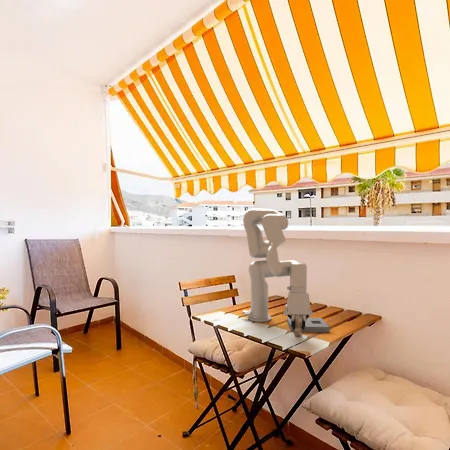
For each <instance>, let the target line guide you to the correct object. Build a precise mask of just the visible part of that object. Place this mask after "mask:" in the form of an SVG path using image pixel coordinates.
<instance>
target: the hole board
mask: <svg viewBox="0 0 450 450" xmlns="http://www.w3.org/2000/svg"><path fill="white" fill-rule="evenodd" d="M286 323H287V325H288V327H289V329H290V331H291V332H292V333H295V330H293V328H292V327H291V319H290V318H289V317H287V318H286ZM302 333H330V326H329V325H328V323H327V322H326V321H325V320H324V319H323V318H322V317H309V318H308V319H307V320H306V321H305V327H304V330H303V329H302Z"/></svg>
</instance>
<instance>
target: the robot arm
mask: <svg viewBox="0 0 450 450" xmlns="http://www.w3.org/2000/svg"><path fill="white" fill-rule="evenodd" d="M242 220H243V221H242V222H243V227H244V230H245V233H246V239H247V240H246V241H247V247H248V252H249V256H250V257H251V258H253V259H263V260H255V261H252V262H251V263H250V264H249V266H248V275H249V280H250V309H249V310H242V315H244V316H247V319H248V320H250V321H251V322H255V323H265V322H269V321H271V320H272V316H271V315H270V314H269V286H268V282H267V281H266V279H267V278H275V277H277V278H279V277H280V278H282V277H289V286H287V287H286V290H287V291H288V292H289V293H288V292H287V301H286V304H287V307H286V306H285V309H284V311H282V313H283V315H284V316H287V318H290V319H291V327H292V328H293V330H295V321H294V316H295V315H302V329H303V330H304V327H305V321H306V320H307V319H308V318H310V317H311V316H313V315H314V313H313V311H312V309H311V303H310V302H311V301H310V293H309V292H308V291H307V286H308V284H307V279H308V278H307V277H308V276H307V272H308V270H307V269H308V268H307V267H308V265H307V264H306V263H305V262H301V261H299V262H298V261H296V260H294V259H287V260H285V259H284V260H279V255H278V249H277V248H279V247H281V246H282V245H284V244H285V243H286V236H285V233H284V230H286V229H287V228H288V226H289V219H288V217H287V216H286V215H285V214H283V213H281V212H279V211H277V210H274V209H272V208H270V209H269V208H250V209H248V210H247V211H245V212H244V214H243V218H242ZM258 225H262V228H263V231H264V233H265V237H266V239H267V240H264V237H263V233H262V230H261V228H260V227H259V226H258ZM264 259H265V260H264Z"/></svg>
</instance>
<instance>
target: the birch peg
mask: <svg viewBox="0 0 450 450" xmlns="http://www.w3.org/2000/svg"><path fill="white" fill-rule="evenodd" d="M294 321H295V332H294V336H295V337H294V338H302V336H303V335H302V333H303V332H302V315H295V316H294Z"/></svg>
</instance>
